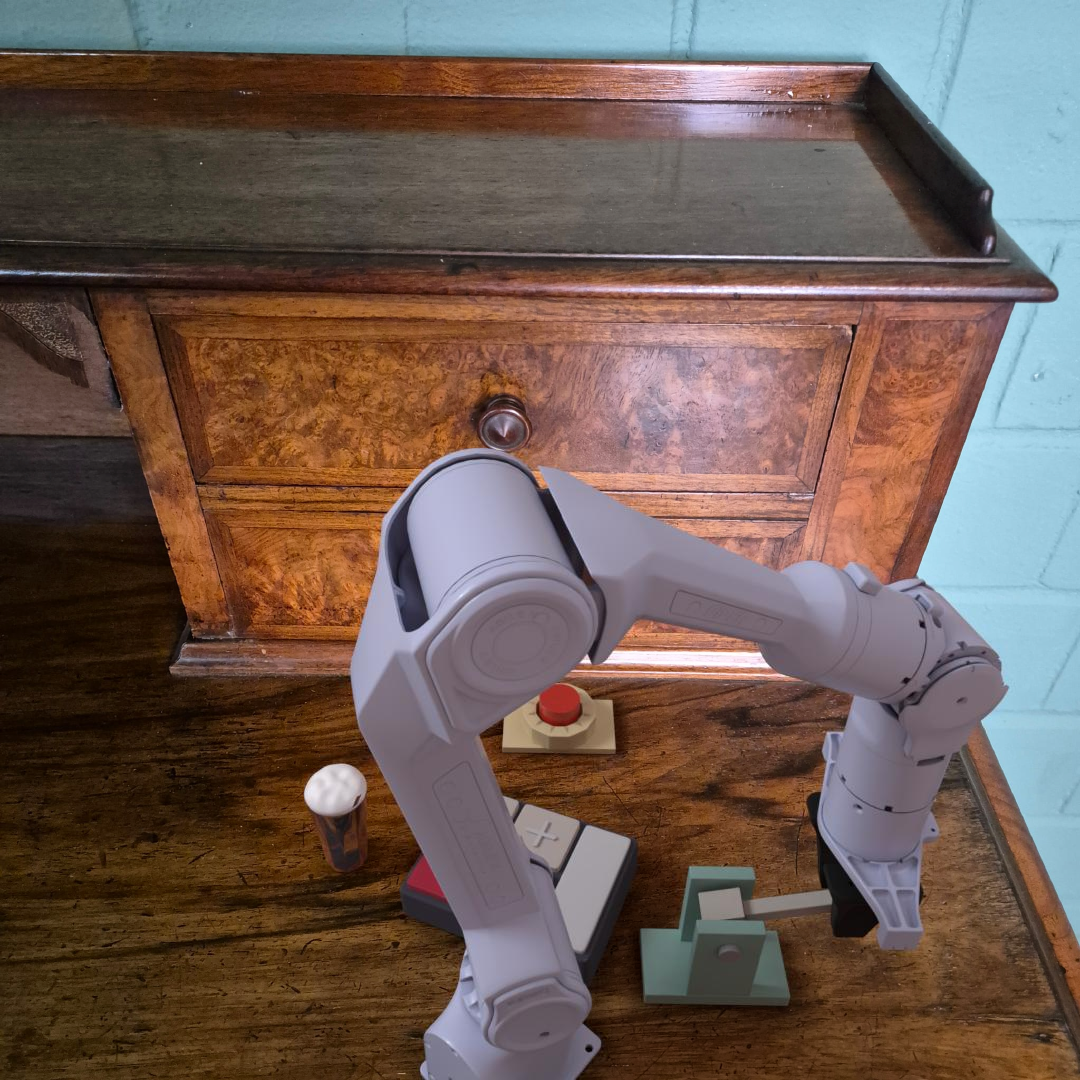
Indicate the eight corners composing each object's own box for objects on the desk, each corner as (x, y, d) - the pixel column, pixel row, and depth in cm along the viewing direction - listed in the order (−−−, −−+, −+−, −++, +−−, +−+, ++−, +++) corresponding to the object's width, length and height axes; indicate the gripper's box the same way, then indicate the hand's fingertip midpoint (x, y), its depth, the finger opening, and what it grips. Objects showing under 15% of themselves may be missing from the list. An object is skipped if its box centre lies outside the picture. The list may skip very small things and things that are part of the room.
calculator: (464, 775, 77) (640, 832, 72) (468, 810, 80) (638, 867, 74) (395, 884, 69) (587, 957, 64) (402, 919, 71) (588, 992, 66)
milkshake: (349, 897, 72) (333, 814, 66) (306, 856, 75) (288, 773, 69) (395, 860, 75) (383, 776, 69) (352, 821, 78) (338, 738, 72)
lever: (878, 886, 64) (876, 860, 62) (890, 927, 62) (889, 901, 60) (702, 909, 66) (696, 884, 64) (708, 950, 64) (702, 925, 62)
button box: (615, 756, 84) (617, 737, 82) (502, 754, 84) (501, 735, 82) (611, 703, 89) (613, 683, 88) (505, 701, 89) (505, 682, 88)
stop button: (579, 727, 84) (580, 713, 83) (538, 726, 84) (539, 712, 83) (578, 697, 87) (579, 683, 86) (539, 697, 87) (539, 683, 86)
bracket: (773, 933, 70) (793, 861, 65) (789, 1013, 65) (812, 942, 60) (638, 930, 70) (647, 858, 65) (644, 1011, 65) (655, 939, 60)
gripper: (1003, 884, 49) (937, 1017, 57) (917, 684, 61) (872, 818, 69) (866, 882, 49) (820, 1016, 57) (806, 683, 61) (775, 817, 69)
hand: (841, 908), depth 63 cm, fingers closed on lever, 3 cm apart
